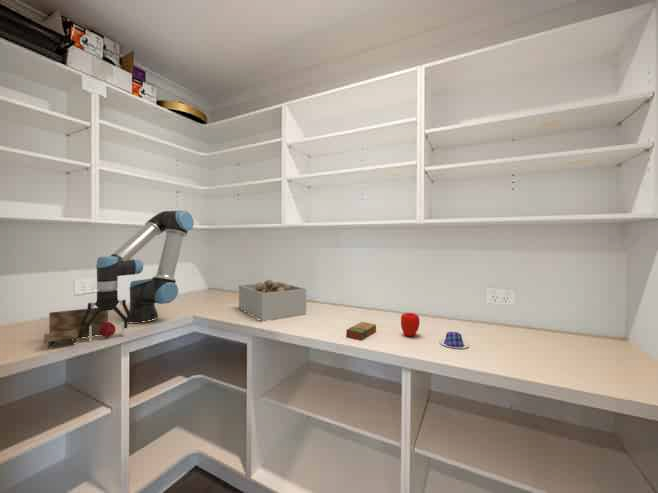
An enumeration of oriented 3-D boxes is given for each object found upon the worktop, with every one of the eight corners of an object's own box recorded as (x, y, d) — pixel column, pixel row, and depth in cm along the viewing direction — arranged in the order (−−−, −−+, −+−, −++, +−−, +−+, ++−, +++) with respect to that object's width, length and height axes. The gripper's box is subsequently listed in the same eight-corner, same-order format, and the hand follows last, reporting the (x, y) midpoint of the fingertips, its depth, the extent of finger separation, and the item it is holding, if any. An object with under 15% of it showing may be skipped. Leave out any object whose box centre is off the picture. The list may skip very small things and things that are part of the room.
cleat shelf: (79, 338, 129) (79, 324, 129) (77, 345, 120) (77, 330, 120) (49, 343, 123) (49, 328, 123) (44, 350, 114) (44, 334, 114)
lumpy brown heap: (296, 319, 163) (296, 284, 163) (251, 318, 165) (252, 283, 165) (306, 305, 201) (306, 276, 201) (269, 304, 203) (270, 276, 202)
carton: (376, 332, 142) (376, 324, 142) (361, 341, 129) (361, 332, 129) (361, 329, 147) (361, 321, 147) (345, 338, 133) (345, 329, 133)
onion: (117, 335, 134) (117, 318, 133) (112, 339, 128) (112, 321, 128) (102, 336, 131) (102, 319, 131) (97, 340, 126) (97, 323, 126)
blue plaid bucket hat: (461, 340, 131) (461, 329, 131) (474, 350, 119) (474, 338, 119) (435, 340, 131) (435, 329, 131) (445, 350, 119) (445, 337, 119)
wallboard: (107, 333, 136) (107, 306, 136) (107, 334, 134) (107, 307, 134) (50, 341, 124) (50, 312, 124) (49, 343, 123) (49, 313, 122)
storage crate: (278, 303, 206) (278, 281, 206) (306, 314, 175) (306, 288, 175) (238, 309, 188) (239, 285, 188) (262, 322, 158) (262, 293, 158)
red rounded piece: (416, 339, 130) (417, 316, 130) (398, 336, 135) (398, 313, 135) (421, 334, 138) (421, 312, 138) (403, 331, 142) (403, 310, 142)
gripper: (137, 286, 140) (137, 331, 140) (74, 291, 126) (74, 340, 126) (138, 288, 134) (138, 335, 134) (71, 293, 120) (71, 345, 120)
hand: (107, 337), depth 130 cm, fingers open, 11 cm apart
